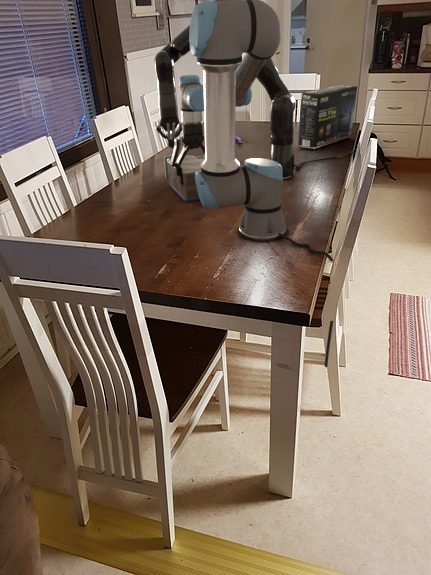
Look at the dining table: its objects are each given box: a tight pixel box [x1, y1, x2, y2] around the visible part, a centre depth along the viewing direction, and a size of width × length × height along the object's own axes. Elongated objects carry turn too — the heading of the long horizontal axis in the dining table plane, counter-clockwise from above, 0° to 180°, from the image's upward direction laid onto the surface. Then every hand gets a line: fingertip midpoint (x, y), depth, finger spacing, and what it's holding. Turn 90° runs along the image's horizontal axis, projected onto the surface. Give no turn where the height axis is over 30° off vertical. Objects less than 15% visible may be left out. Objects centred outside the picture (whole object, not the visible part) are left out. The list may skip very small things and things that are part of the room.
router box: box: [297, 84, 358, 151], centre depth 238 cm, size 36×11×27 cm, turn 134°
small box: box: [167, 154, 201, 203], centre depth 183 cm, size 21×11×11 cm, turn 22°
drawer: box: [163, 153, 188, 179], centre depth 192 cm, size 26×10×9 cm, turn 22°
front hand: (195, 181), depth 177 cm, fingers closed on small box, 11 cm apart
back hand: (171, 147), depth 197 cm, fingers closed
